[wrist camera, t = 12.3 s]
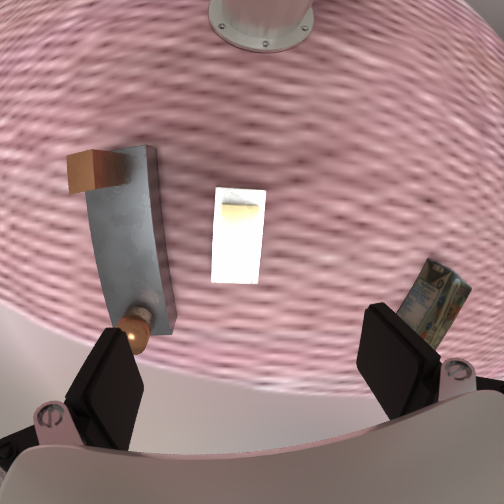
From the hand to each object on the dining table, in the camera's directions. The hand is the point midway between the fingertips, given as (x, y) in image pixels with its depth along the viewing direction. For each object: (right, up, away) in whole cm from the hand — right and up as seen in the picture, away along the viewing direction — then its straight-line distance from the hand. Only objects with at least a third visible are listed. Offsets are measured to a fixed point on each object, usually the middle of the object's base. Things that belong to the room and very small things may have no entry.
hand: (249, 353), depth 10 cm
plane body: (-13, +5, +20) cm, 25 cm away
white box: (-2, +6, +22) cm, 22 cm away
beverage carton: (+25, -7, +28) cm, 38 cm away
